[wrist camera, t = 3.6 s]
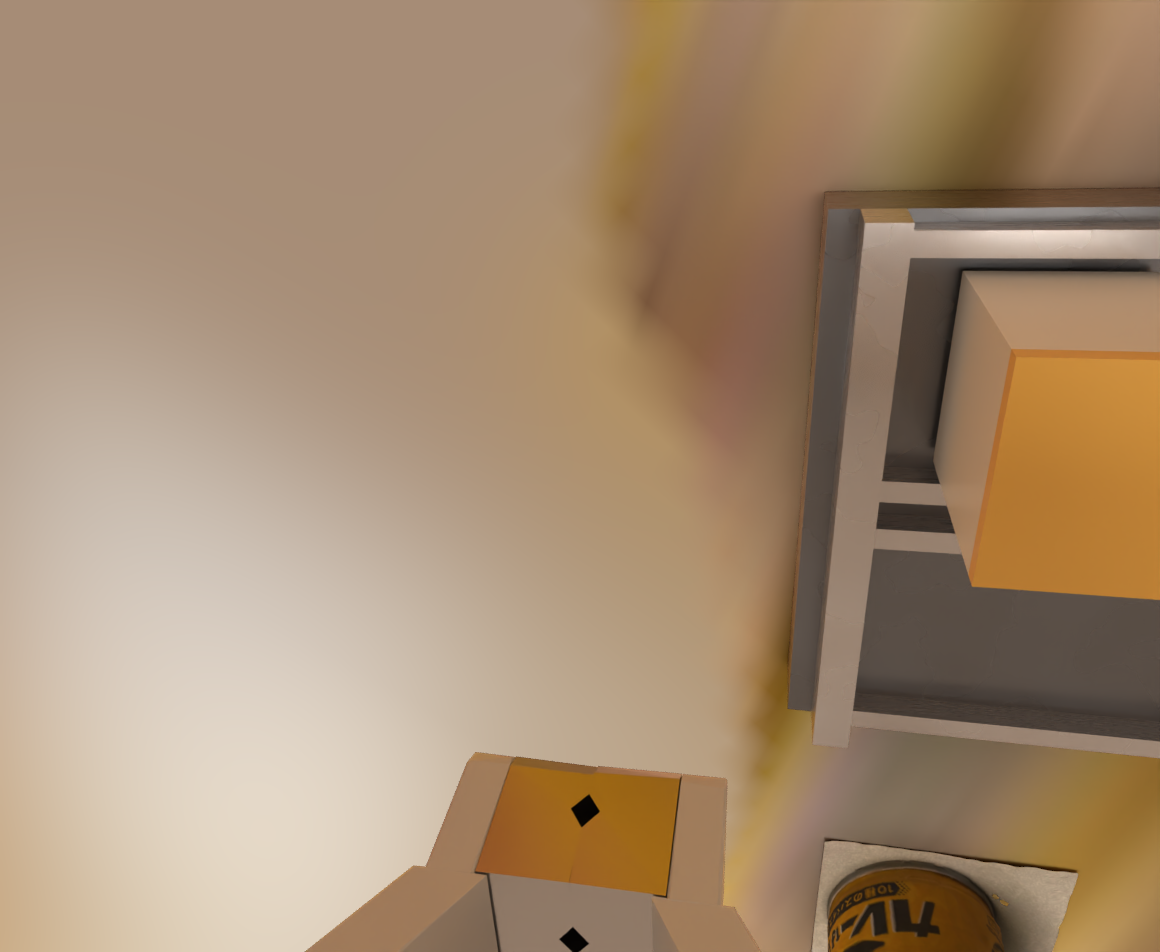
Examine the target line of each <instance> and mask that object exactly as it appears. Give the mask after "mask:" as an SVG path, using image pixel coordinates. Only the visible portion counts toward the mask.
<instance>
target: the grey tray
mask: <svg viewBox="0 0 1160 952" xmlns="http://www.w3.org/2000/svg"><path fill="white" fill-rule="evenodd" d="M963 271H1091V272H1160V188H1109V189H1020V190H931V191H842V192H825V197H824V210H823V222H822V235H821V248H820V261H819V273H818V286H817V299H816V312H815V324H814V337H813V350H812V362H811V375H810V388H809V401H808V413H807V426H806V439H805V451H804V464H803V477H802V490H801V502H800V515H799V528H798V540H797V553H796V566H795V579H794V591H793V604H792V617H791V630H790V642H789V655H788V709H795V710H805V711H811V718H812V745H820V746H829V747H838V748H848V745H849V737H850V729H851V726H853V727H862V728H872V729H882V730H891V731H901V732H911V733H920V734H930V735H940V736H949V737H959V738H969V739H978V740H988V741H998V742H1007V743H1017V744H1027V745H1036V746H1046V747H1056V748H1065V749H1075V750H1085V751H1094V752H1104V753H1114V754H1123V755H1133V756H1143V757H1152V758H1160V600H1153V599H1139V598H1125V597H1111V596H1097V595H1083V594H1069V593H1055V592H1042V591H1028V590H1014V589H1000V588H986V587H972V585H971V582H970V579H969V576H968V572H967V569H966V566H965V563H964V560H963V556H962V553H961V550H960V547H959V543H958V540H957V537H956V534H955V530H954V527H953V524H952V521H951V518H950V514H949V511H948V508H947V505H946V502H945V498H944V495H943V492H942V489H941V485H940V482H939V479H938V476H937V473H936V469H935V466H934V463H933V458H934V451H935V445H936V438H937V432H938V426H939V419H940V413H941V406H942V400H943V394H944V387H945V381H946V374H947V368H948V362H949V355H950V349H951V342H952V336H953V329H954V323H955V317H956V310H957V304H958V297H959V291H960V285H961V278H962V272H963Z"/></svg>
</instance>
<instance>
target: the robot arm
mask: <svg viewBox="0 0 1160 952" xmlns="http://www.w3.org/2000/svg"><path fill="white" fill-rule="evenodd" d="M726 810H727V779H725V778H717V777H706V776H696V775H686V774H683V776H682V774H678V773H667V772H657V771H645V770H635V769H624V768H613V767H602V766H598V767H593V766H585V765H577V764H570V763H562V762H554V761H546V760H539V759H531V758H524V757H510V756H502V755H495V754H487V753H479V752H475V754H474V755H473V756H472V757H471V758H470V759H469V761H468V762H467V764H466V766H465V769H464V771H463V774H462V776H461V779H460V781H459V784H458V786H457V789H456V791H455V794H454V796H453V799H452V802H451V804H450V807H449V809H448V812H447V814H446V817H445V819H444V822H443V824H442V827H441V830H440V832H439V834H438V837H437V839H436V842H435V844H434V847H433V849H432V852H431V855H430V857H429V860H428V862H427V865H426V867H423V866H412V867H411V868H410V869H408V870H407V871H406V872H405V873H403V874H402V875H401V876H400V877H398V878H397V879H396V880H395V881H393V882H392V883H391V884H390V885H388V886H387V887H386V888H384V889H383V890H382V891H381V892H379V893H378V894H377V895H376V896H374V897H373V898H372V899H371V900H369V901H368V902H367V903H366V904H364V905H363V906H362V907H361V908H359V909H358V910H357V911H355V912H354V913H353V914H352V915H351V916H349V917H348V918H347V919H345V920H344V921H343V922H342V923H340V924H339V925H338V926H337V927H335V928H334V929H333V930H332V931H330V932H329V933H328V934H327V935H325V936H324V937H323V938H322V939H320V940H319V941H318V942H316V943H315V944H314V945H313V946H312V947H310V948H309V949H308V950H306V951H305V952H761V951H760V949H759V947H758V946H757V944H756V942H755V941H754V939H753V937H752V936H751V934H750V932H749V931H748V929H747V927H746V926H745V924H744V922H743V921H742V919H741V917H740V916H739V914H738V912H737V911H736V909H735V907H729V906H723V897H724V868H725V839H726Z"/></svg>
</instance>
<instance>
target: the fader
mask: <svg viewBox="0 0 1160 952" xmlns="http://www.w3.org/2000/svg"><path fill="white" fill-rule="evenodd" d="M933 463H934V466H935V469H936V473H937V476H938V479H939V482H940V485H941V489H942V492H943V495H944V498H945V502H946V505H947V508H948V511H949V514H950V518H951V521H952V524H953V527H954V530H955V534H956V537H957V540H958V543H959V547H960V550H961V553H962V556H963V560H964V563H965V566H966V569H967V572H968V576H969V579H970V582H971V585H972V587H986V588H1000V589H1014V590H1028V591H1042V592H1055V593H1069V594H1083V595H1097V596H1111V597H1125V598H1139V599H1153V600H1160V272H1091V271H963V272H962V278H961V285H960V291H959V297H958V304H957V310H956V317H955V323H954V329H953V336H952V342H951V349H950V355H949V362H948V368H947V374H946V381H945V387H944V394H943V400H942V406H941V413H940V419H939V426H938V432H937V438H936V445H935V451H934V458H933Z"/></svg>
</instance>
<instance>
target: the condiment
mask: <svg viewBox="0 0 1160 952" xmlns="http://www.w3.org/2000/svg"><path fill="white" fill-rule="evenodd" d="M1077 877H1078V873H1070V872H1063V871H1062V872H1055V871H1048V870H1043V869H1039V868H1034V867H1014V866H1011V865H1006V864H999V863H994V862H992V863H986V862H980V861H978V860H972V859H963V858H959V857H953V856H950V855H943V854H938V853H931V852H921V851H911V850H906V849H901V848H891V847H886V846H879V845H864V844H860V843H856V842H846V841H845V842H843V841H829V842H825V844H824V852H823V860H822V868H821V875H820V883H819V891H818V899H817V908H816V916H815V924H814V934H813V944H812V952H1052V951H1053V948H1054V945H1055V942H1056V939H1057V936H1058V933H1059V928H1058V927H1059V926H1060V925H1061V923H1062V921H1063V919H1064V915H1065V913H1066V910H1067V906H1068V902H1069V898H1070V895H1071V894H1072V892H1073V889H1074V886H1075V883H1076V880H1077ZM993 894H996V895H997V896H998V897H999V899H994V898H993V897H992V895H993ZM1000 900H1004V901H1006V902H1007V903H1009V904H1008V906H1005V905H1003V904H1001V902H1000Z"/></svg>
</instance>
